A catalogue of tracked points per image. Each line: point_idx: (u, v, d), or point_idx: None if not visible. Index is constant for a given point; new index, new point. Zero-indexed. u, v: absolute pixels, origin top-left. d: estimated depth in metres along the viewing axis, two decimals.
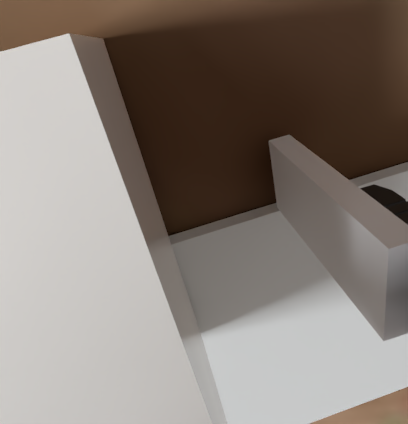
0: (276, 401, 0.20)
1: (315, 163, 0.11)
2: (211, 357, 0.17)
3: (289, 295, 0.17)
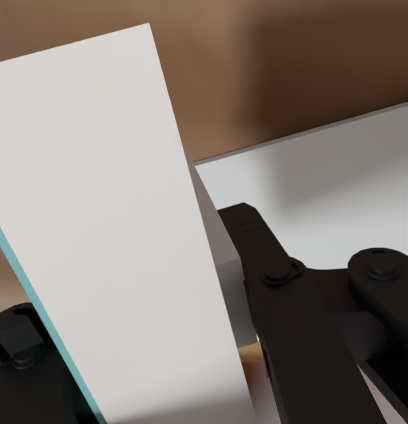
0: None
1: (193, 181, 0.11)
2: None
3: None
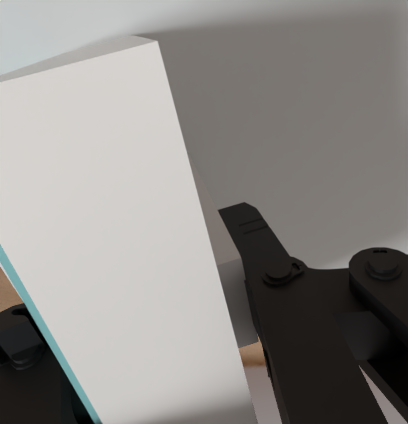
0: None
1: None
2: None
3: None
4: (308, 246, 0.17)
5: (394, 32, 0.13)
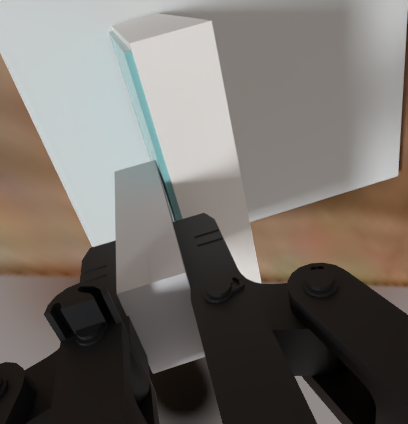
0: None
1: (154, 192, 0.11)
2: (71, 136, 0.19)
3: None
4: (283, 175, 0.23)
5: (336, 12, 0.19)
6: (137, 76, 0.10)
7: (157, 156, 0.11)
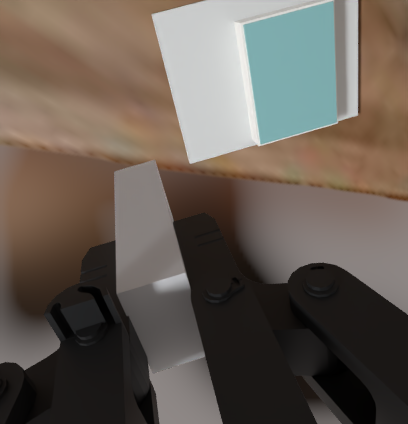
0: (219, 126, 0.40)
1: (154, 191, 0.11)
2: (184, 84, 0.38)
3: (219, 50, 0.37)
4: None
5: None
6: (332, 8, 0.35)
7: (334, 36, 0.36)
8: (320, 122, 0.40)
